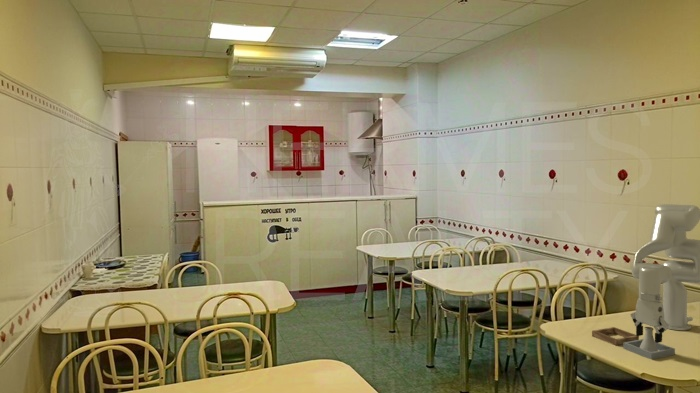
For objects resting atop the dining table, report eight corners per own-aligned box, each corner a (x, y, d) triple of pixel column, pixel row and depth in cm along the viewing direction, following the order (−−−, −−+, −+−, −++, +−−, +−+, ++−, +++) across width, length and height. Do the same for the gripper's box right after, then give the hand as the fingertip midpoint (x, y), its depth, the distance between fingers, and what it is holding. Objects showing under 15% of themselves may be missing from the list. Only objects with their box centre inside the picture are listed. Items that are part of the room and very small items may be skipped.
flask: (662, 355, 201) (662, 331, 200) (642, 354, 202) (642, 330, 201) (654, 348, 208) (654, 325, 207) (635, 348, 209) (636, 324, 208)
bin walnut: (613, 332, 228) (613, 327, 228) (638, 341, 216) (638, 335, 216) (592, 336, 224) (592, 330, 224) (616, 345, 212) (616, 339, 212)
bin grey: (645, 344, 213) (646, 338, 213) (674, 354, 201) (674, 348, 201) (623, 348, 209) (623, 342, 208) (651, 359, 196) (651, 353, 196)
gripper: (676, 301, 196) (675, 344, 197) (637, 291, 213) (636, 331, 214) (662, 303, 194) (661, 347, 195) (624, 293, 210) (623, 333, 211)
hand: (648, 338), depth 204 cm, fingers open, 8 cm apart
